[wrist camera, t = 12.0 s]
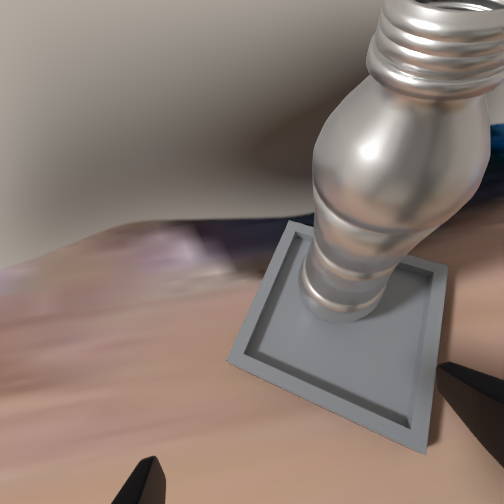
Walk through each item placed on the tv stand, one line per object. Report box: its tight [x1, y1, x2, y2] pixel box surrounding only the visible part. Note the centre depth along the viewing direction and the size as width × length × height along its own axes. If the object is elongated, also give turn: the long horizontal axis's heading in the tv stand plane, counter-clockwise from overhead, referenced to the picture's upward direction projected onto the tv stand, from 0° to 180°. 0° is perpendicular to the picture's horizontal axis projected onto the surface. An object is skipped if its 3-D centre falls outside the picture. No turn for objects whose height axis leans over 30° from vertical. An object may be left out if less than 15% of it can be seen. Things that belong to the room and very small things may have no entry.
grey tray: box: [226, 220, 449, 455], centre depth 22 cm, size 14×14×2 cm
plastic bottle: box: [298, 0, 504, 324], centre depth 15 cm, size 6×7×20 cm
